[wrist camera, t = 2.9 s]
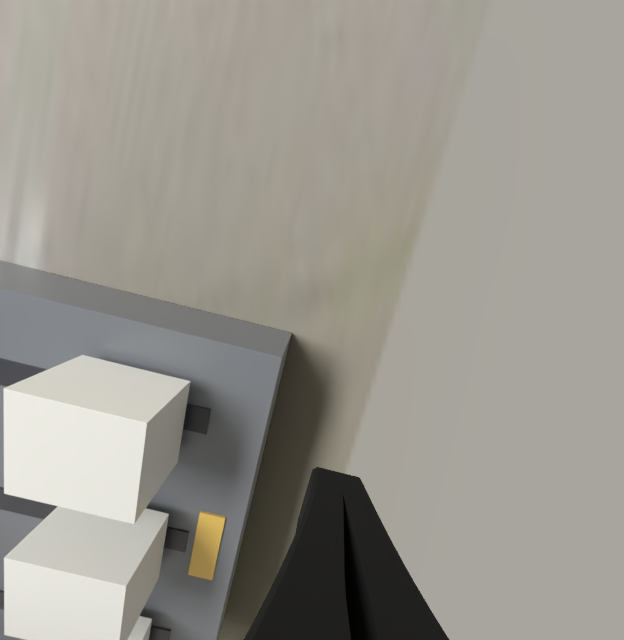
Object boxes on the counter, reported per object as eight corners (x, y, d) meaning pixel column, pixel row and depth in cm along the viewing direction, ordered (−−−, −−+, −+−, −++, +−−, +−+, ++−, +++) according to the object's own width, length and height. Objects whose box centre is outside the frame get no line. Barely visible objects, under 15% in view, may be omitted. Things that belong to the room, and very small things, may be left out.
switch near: (77, 438, 10) (3, 493, 8) (82, 354, 9) (3, 388, 7) (177, 462, 10) (134, 524, 8) (190, 381, 10) (147, 423, 7)
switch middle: (69, 557, 11) (4, 634, 9) (73, 491, 11) (4, 557, 8) (158, 577, 12) (116, 660, 9) (169, 514, 11) (125, 586, 8)
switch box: (-38, 553, 16) (-120, 620, 13) (-53, 247, 12) (-173, 246, 9) (224, 613, 16) (202, 694, 13) (291, 332, 13) (281, 357, 10)
